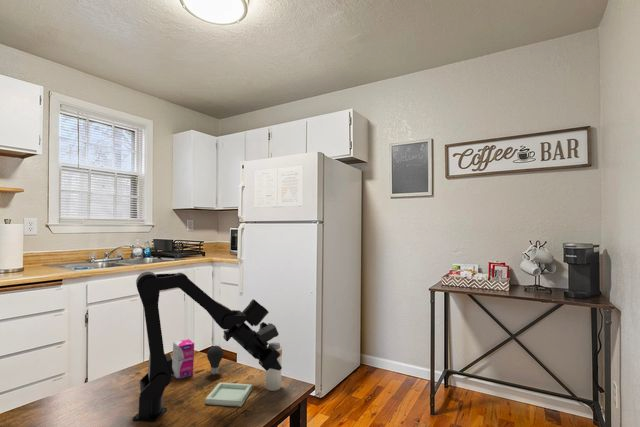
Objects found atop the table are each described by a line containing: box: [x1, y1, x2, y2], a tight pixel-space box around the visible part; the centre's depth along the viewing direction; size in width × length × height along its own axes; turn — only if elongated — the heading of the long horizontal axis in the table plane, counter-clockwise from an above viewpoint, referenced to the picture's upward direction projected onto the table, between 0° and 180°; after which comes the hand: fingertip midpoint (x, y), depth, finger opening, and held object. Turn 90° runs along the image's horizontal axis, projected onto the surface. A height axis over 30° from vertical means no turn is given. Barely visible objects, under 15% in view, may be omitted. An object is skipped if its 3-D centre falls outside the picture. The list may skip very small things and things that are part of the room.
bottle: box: [265, 341, 283, 392], centre depth 115 cm, size 5×5×14 cm
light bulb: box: [206, 345, 224, 376], centre depth 124 cm, size 6×6×10 cm
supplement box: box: [172, 338, 195, 380], centre depth 123 cm, size 6×6×12 cm
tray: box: [204, 382, 253, 408], centre depth 108 cm, size 11×11×2 cm
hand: (277, 366), depth 115 cm, fingers closed on bottle, 5 cm apart
